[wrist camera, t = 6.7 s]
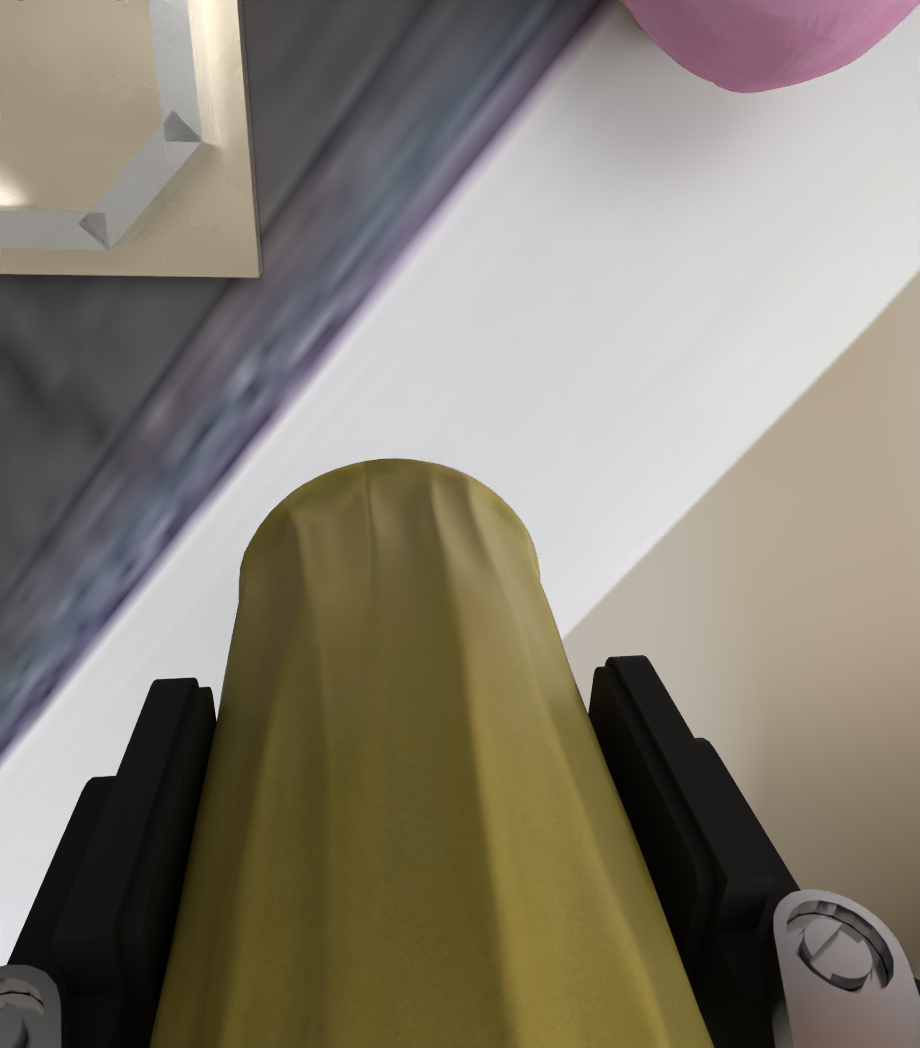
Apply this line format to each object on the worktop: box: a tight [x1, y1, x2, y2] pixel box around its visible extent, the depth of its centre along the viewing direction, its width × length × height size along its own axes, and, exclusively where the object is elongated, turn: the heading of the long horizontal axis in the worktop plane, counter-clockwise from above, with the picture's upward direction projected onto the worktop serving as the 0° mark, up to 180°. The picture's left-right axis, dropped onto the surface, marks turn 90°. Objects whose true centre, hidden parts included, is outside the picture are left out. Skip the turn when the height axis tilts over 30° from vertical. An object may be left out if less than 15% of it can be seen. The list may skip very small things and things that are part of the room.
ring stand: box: [0, 0, 263, 278], centre depth 21 cm, size 12×12×4 cm
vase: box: [150, 459, 714, 1048], centre depth 9 cm, size 6×6×14 cm
